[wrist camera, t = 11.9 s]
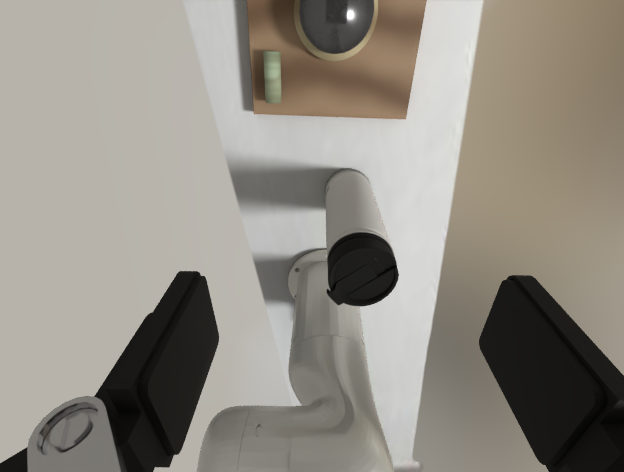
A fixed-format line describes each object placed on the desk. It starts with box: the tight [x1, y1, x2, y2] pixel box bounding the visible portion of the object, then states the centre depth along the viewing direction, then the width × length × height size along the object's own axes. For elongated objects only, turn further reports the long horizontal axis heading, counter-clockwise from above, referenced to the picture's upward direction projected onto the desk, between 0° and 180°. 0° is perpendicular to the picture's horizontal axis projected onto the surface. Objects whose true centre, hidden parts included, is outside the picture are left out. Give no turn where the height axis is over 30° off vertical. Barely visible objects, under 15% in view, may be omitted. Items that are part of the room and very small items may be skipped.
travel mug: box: [325, 169, 399, 306], centre depth 35 cm, size 6×7×20 cm
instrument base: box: [247, 0, 426, 119], centre depth 32 cm, size 20×18×3 cm
